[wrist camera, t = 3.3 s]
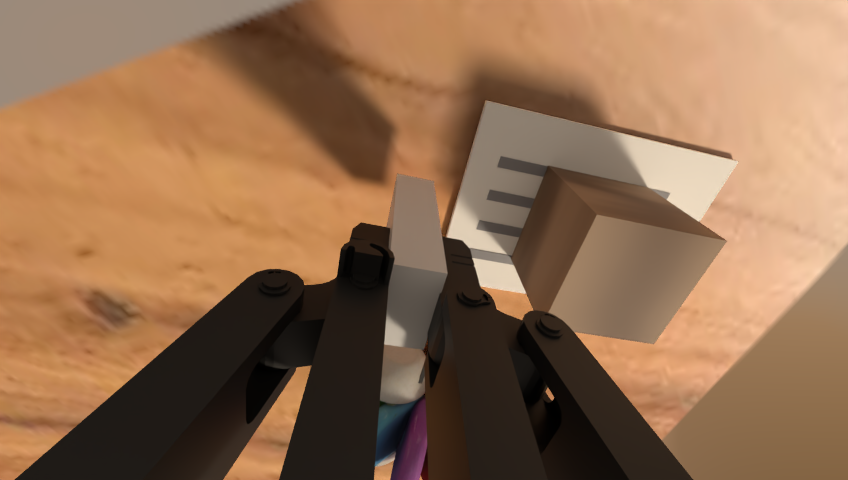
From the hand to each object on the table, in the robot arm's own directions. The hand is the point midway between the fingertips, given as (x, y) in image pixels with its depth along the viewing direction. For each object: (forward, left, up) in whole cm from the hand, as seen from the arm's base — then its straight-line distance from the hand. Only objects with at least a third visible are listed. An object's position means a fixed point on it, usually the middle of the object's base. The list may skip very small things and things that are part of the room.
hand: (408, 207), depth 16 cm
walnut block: (+8, 0, -2) cm, 8 cm away
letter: (+8, 0, -2) cm, 9 cm away
